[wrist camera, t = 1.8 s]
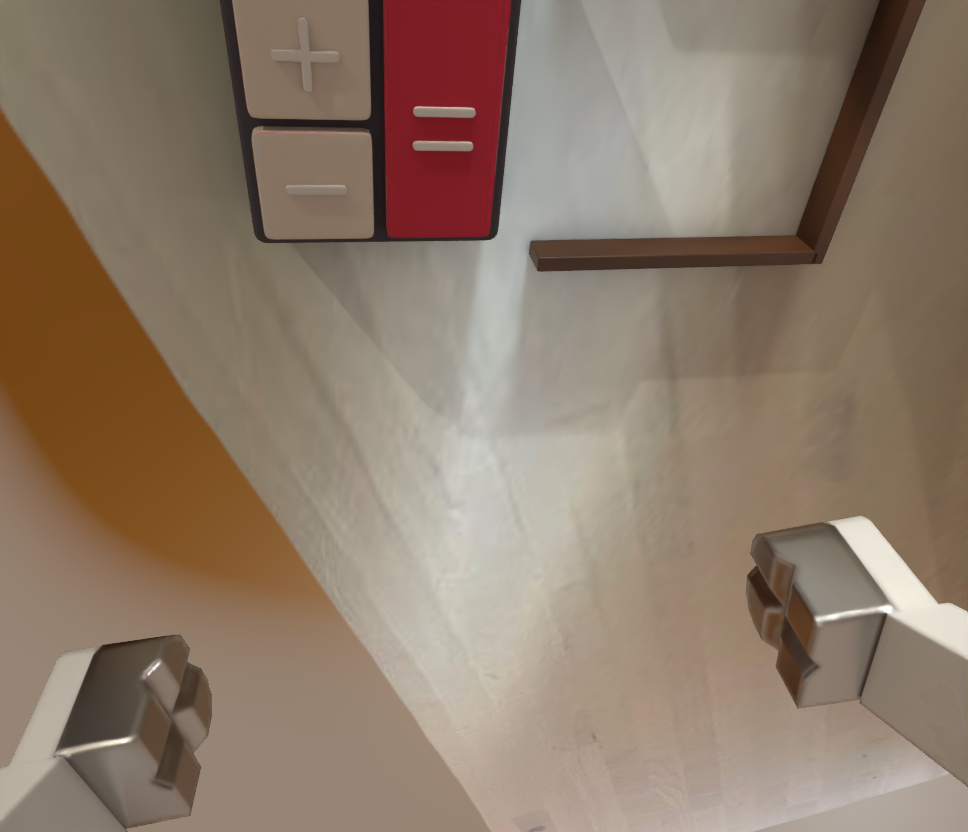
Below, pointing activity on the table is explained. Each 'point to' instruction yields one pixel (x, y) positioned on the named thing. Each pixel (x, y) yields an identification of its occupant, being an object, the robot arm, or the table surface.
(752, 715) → the table surface
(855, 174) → the bay
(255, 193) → the calculator
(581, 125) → the table surface
